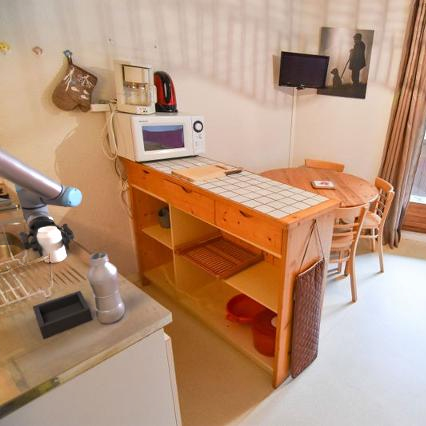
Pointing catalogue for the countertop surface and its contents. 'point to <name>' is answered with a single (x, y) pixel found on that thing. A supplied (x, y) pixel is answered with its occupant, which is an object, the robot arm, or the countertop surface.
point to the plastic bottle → (105, 288)
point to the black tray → (62, 314)
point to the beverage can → (51, 243)
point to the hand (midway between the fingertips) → (54, 249)
